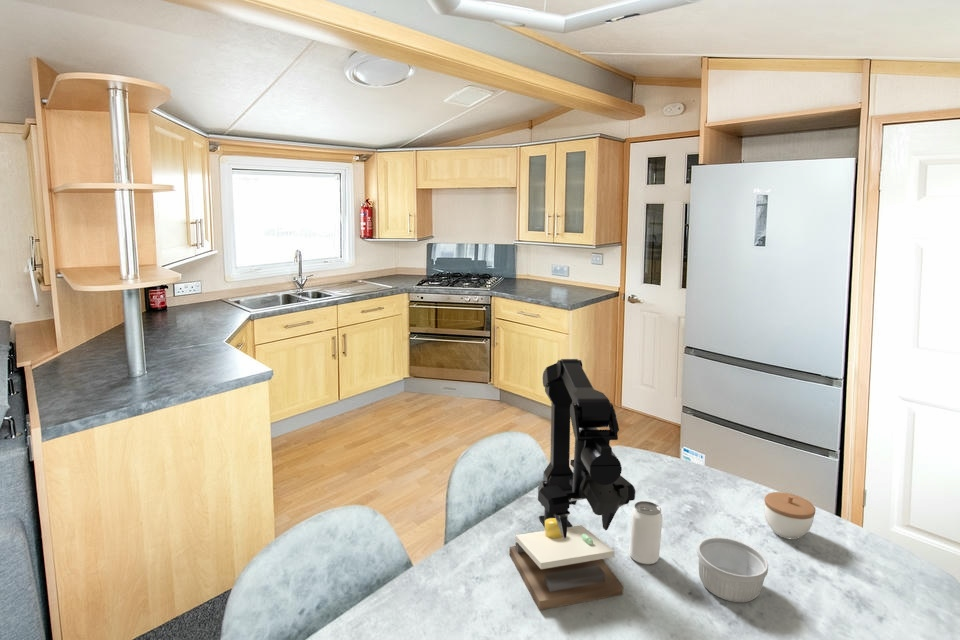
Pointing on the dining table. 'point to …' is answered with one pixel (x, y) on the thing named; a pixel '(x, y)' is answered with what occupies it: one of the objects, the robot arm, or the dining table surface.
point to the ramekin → (731, 569)
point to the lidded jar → (788, 514)
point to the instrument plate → (563, 546)
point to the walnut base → (567, 594)
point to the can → (645, 533)
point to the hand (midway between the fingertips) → (584, 533)
